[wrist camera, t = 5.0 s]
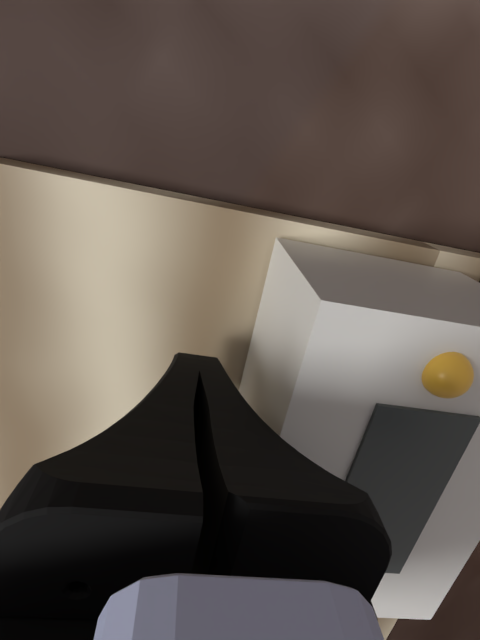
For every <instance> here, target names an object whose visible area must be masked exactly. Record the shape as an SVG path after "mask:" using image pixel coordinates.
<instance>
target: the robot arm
mask: <svg viewBox="0 0 480 640" xmlns="http://www.w3.org/2000/svg"><path fill="white" fill-rule="evenodd" d="M391 556H392V546H391V540H390V538H389V536H388V534H387V532H386V529H385V527H384V525H383V522H382V520H381V518H380V516H379V513H378V511H377V509H376V508H375V506H374V504H373V502H372V500H371V498H370V497H369V495H368V493H366V492H365V491H363V490H361V489H359V488H357V487H355V486H353V485H352V484H350V483H348V482H346V481H344V480H342V479H340V478H338V477H337V476H335V475H333V474H331V473H330V472H328V471H326V470H325V469H323V468H322V467H320V466H319V465H317V464H316V463H314V462H312V461H311V460H310V459H308V458H307V457H305V456H304V455H303V454H301V453H300V452H298V451H297V450H296V449H295V448H293V447H292V446H291V445H290V444H288V443H287V442H286V441H285V440H283V439H282V438H281V437H280V436H279V435H278V434H277V433H275V432H274V431H273V430H272V429H271V428H270V427H269V426H268V425H267V424H266V423H265V422H264V421H263V420H262V419H261V418H260V417H259V416H258V415H257V413H256V412H255V411H254V410H253V409H252V408H251V406H250V405H249V404H248V403H247V402H246V400H245V399H244V398H243V396H242V395H241V393H240V392H239V391H238V389H237V388H236V386H235V385H234V384H233V382H232V380H231V379H230V377H229V376H228V374H227V373H226V371H225V369H224V368H223V366H222V364H221V363H220V361H219V360H218V358H216V357H209V356H202V355H194V354H187V353H180V352H178V353H177V354H175V355H174V358H173V360H172V362H171V364H170V366H169V367H168V369H167V371H166V372H165V374H164V375H163V376H162V377H161V379H160V380H159V381H158V383H157V384H156V385H155V386H154V388H153V389H152V390H151V391H150V392H149V393H148V394H147V395H146V396H145V397H144V398H143V399H142V400H141V401H140V402H139V403H138V404H137V405H136V406H135V407H134V408H133V409H132V410H131V411H129V412H128V413H127V414H126V415H125V416H124V417H122V418H121V419H120V420H118V421H117V422H116V423H114V424H113V425H111V426H110V427H109V428H107V429H106V430H104V431H103V432H101V433H100V434H98V435H96V436H95V437H93V438H91V439H89V440H88V441H86V442H84V443H82V444H80V445H78V446H76V447H74V448H72V449H70V450H68V451H65V452H63V453H61V454H58V455H56V456H53V457H51V458H49V459H46V460H44V461H41V462H38V463H36V464H34V465H33V466H32V467H31V468H30V469H29V470H28V472H27V473H26V474H25V475H24V477H23V478H22V479H21V480H20V482H19V483H18V484H17V486H16V487H15V489H14V490H13V491H12V493H11V494H10V495H9V497H8V498H7V500H6V501H5V503H4V504H3V506H2V507H1V509H0V640H384V637H383V635H382V632H381V629H380V626H379V623H378V619H377V616H376V613H375V610H374V607H373V605H372V602H371V599H372V597H373V595H374V594H375V592H376V590H377V588H378V586H379V584H380V582H381V580H382V578H383V576H384V574H385V572H386V570H387V568H388V565H389V562H390V559H391Z"/></svg>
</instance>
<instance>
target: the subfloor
mask: <svg viewBox="0 0 480 640" xmlns="http://www.w3.org/2000/svg"><path fill="white" fill-rule="evenodd" d="M276 237H278V238H283V239H288V240H294V241H299V242H304V243H310V244H315V245H320V246H325V247H331V248H336V249H341V250H346V251H352V252H357V253H362V254H367V255H373V256H378V257H383V258H388V259H394V260H399V261H404V262H409V263H415V264H420V265H425V266H431V267H436V268H441V269H446V270H452V271H457V272H461V273H462V274H464V275H466V276H468V277H470V278H472V279H474V280H475V281H477V282H479V283H480V253H477V252H472V251H467V250H462V249H457V248H452V247H447V246H442V245H437V244H432V243H427V242H422V241H417V240H412V239H407V238H402V237H397V236H392V235H387V234H382V233H377V232H372V231H367V230H362V229H357V228H352V227H347V226H342V225H337V224H332V223H327V222H322V221H317V220H312V219H307V218H302V217H297V216H292V215H287V214H282V213H277V212H272V211H267V210H262V209H257V208H252V207H247V206H242V205H237V204H232V203H227V202H222V201H217V200H212V199H207V198H202V197H197V196H192V195H187V194H182V193H177V192H172V191H167V190H162V189H157V188H152V187H147V186H142V185H137V184H132V183H127V182H122V181H117V180H112V179H107V178H102V177H97V176H92V175H87V174H82V173H77V172H72V171H67V170H62V169H57V168H52V167H47V166H42V165H37V164H32V163H27V162H22V161H17V160H12V159H7V158H2V157H0V509H1V507H2V506H3V504H4V503H5V501H6V500H7V498H8V497H9V495H10V494H11V493H12V491H13V490H14V489H15V487H16V486H17V484H18V483H19V482H20V480H21V479H22V478H23V477H24V475H25V474H26V473H27V472H28V470H29V469H30V468H31V467H32V466H33V465H34V464H36V463H38V462H41V461H44V460H46V459H49V458H51V457H53V456H56V455H58V454H61V453H63V452H65V451H68V450H70V449H72V448H74V447H76V446H78V445H80V444H82V443H84V442H86V441H88V440H89V439H91V438H93V437H95V436H96V435H98V434H100V433H101V432H103V431H104V430H106V429H107V428H109V427H110V426H111V425H113V424H114V423H116V422H117V421H118V420H120V419H121V418H122V417H124V416H125V415H126V414H127V413H128V412H129V411H131V410H132V409H133V408H134V407H135V406H136V405H137V404H138V403H139V402H140V401H141V400H142V399H143V398H144V397H145V396H146V395H147V394H148V393H149V392H150V391H151V390H152V389H153V388H154V386H155V385H156V384H157V383H158V381H159V380H160V379H161V377H162V376H163V375H164V374H165V372H166V371H167V369H168V367H169V366H170V364H171V362H172V360H173V358H174V355H175V354H177V353H178V352H180V353H187V354H194V355H202V356H209V357H216V358H218V360H219V361H220V363H221V364H222V366H223V368H224V369H225V371H226V373H227V374H228V376H229V377H230V379H231V380H232V382H233V384H234V385H235V386H236V388H237V389H238V391H239V388H240V384H241V380H242V375H243V371H244V367H245V363H246V359H247V355H248V351H249V346H250V342H251V338H252V334H253V330H254V326H255V322H256V317H257V313H258V309H259V305H260V301H261V297H262V293H263V288H264V284H265V280H266V276H267V272H268V268H269V264H270V259H271V255H272V251H273V247H274V243H275V239H276ZM377 619H378V623H379V626H380V629H381V632H382V635H383V637H384V640H386V639H387V637H388V635H389V634H390V632H391V630H392V628H393V627H394V625H395V623H396V621H397V619H398V618H377Z"/></svg>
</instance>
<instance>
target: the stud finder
mask: <svg viewBox="0 0 480 640" xmlns="http://www.w3.org/2000/svg"><path fill="white" fill-rule="evenodd" d="M239 392H240V393H241V395H242V396H243V398H244V399H245V400H246V402H247V403H248V404H249V405H250V406H251V408H252V409H253V410H254V411H255V412H256V413H257V415H258V416H259V417H260V418H261V419H262V420H263V421H264V422H265V423H266V424H267V425H268V426H269V427H270V428H271V429H272V430H273V431H274V432H275V433H277V434H278V435H279V436H280V437H281V438H282V439H283V440H285V441H286V442H287V443H288V444H290V445H291V446H292V447H293V448H295V449H296V450H297V451H298V452H300V453H301V454H303V455H304V456H305V457H307V458H308V459H310V460H311V461H312V462H314V463H316V464H317V465H319V466H320V467H322V468H323V469H325V470H326V471H328V472H330V473H331V474H333V475H335V476H337V477H338V478H340V479H342V480H344V481H346V482H348V483H350V484H352V485H353V486H355V487H357V488H359V489H361V490H363V491H365V492H366V493H368V495H369V497H370V498H371V500H372V502H373V504H374V506H375V508H376V509H377V511H378V513H379V516H380V518H381V520H382V522H383V525H384V527H385V529H386V532H387V534H388V536H389V538H390V540H391V546H392V556H391V559H390V562H389V565H388V568H387V570H386V572H385V574H384V576H383V578H382V580H381V582H380V584H379V586H378V588H377V590H376V592H375V594H374V595H373V597H372V599H371V602H372V605H373V607H374V610H375V613H376V616H377V618H400V619H425V620H431V618H432V617H433V615H434V614H435V612H436V610H437V609H438V607H439V605H440V604H441V602H442V601H443V599H444V597H445V596H446V594H447V592H448V591H449V589H450V588H451V586H452V584H453V583H454V581H455V580H456V578H457V576H458V575H459V573H460V571H461V570H462V568H463V567H464V565H465V563H466V562H467V560H468V558H469V557H470V555H471V554H472V552H473V550H474V549H475V547H476V545H477V544H478V542H479V541H480V283H479V282H477V281H475V280H474V279H472V278H470V277H468V276H466V275H464V274H462V273H461V272H457V271H452V270H446V269H441V268H436V267H431V266H425V265H420V264H415V263H409V262H404V261H399V260H394V259H388V258H383V257H378V256H373V255H367V254H362V253H357V252H352V251H346V250H341V249H336V248H331V247H325V246H320V245H315V244H310V243H304V242H299V241H294V240H288V239H283V238H278V237H276V239H275V243H274V247H273V251H272V255H271V259H270V264H269V268H268V272H267V276H266V280H265V284H264V288H263V293H262V297H261V301H260V305H259V309H258V313H257V317H256V322H255V326H254V330H253V334H252V338H251V342H250V346H249V351H248V355H247V359H246V363H245V367H244V371H243V375H242V380H241V384H240V388H239Z"/></svg>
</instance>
